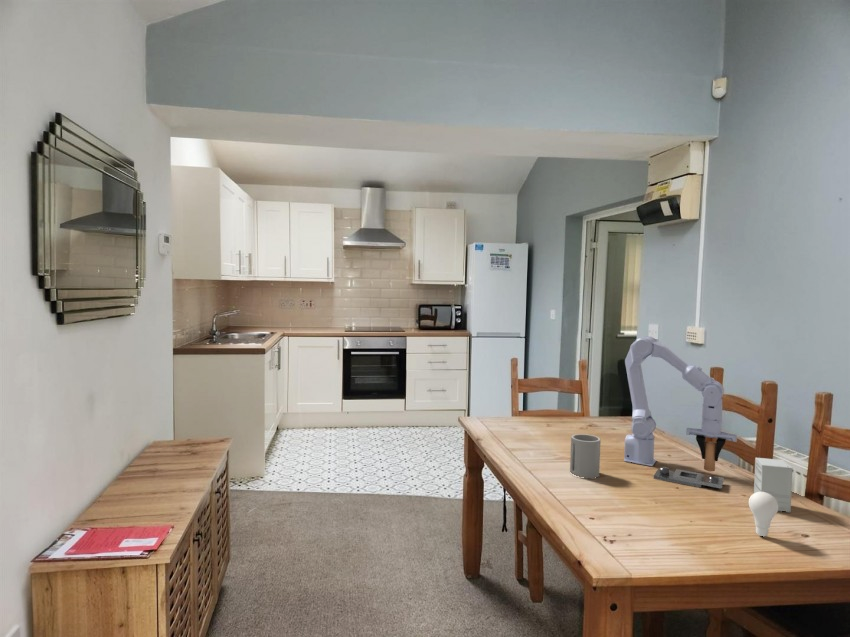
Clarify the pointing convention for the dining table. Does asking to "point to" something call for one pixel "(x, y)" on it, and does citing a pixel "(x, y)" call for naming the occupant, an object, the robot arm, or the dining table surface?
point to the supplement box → (774, 481)
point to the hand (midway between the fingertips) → (709, 459)
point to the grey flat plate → (688, 478)
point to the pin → (709, 456)
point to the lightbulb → (763, 511)
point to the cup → (585, 455)
